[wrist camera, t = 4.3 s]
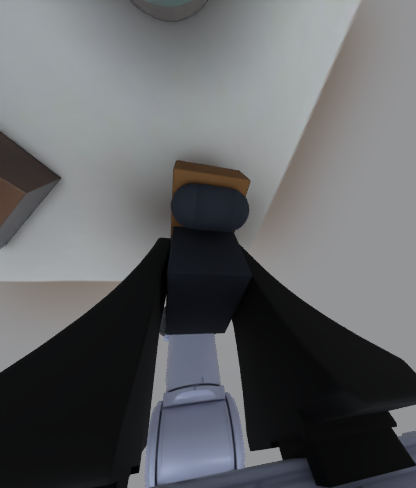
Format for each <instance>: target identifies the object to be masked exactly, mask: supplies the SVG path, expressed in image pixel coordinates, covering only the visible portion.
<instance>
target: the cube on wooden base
mask: <svg viewBox="0 0 416 488" xmlns="http://www.w3.org/2000/svg"><path fill="white" fill-rule="evenodd" d="M249 184H250V180H249V179H248V178H247V177H246V176H245V175H244V174H242V173H241V172H240V171H239V170H233V169H227V168H221V167H215V166H209V165H203V164H197V163H191V162H185V161H179V160H177V161H176V162H175V166H174V169H173V191H172V201H171V210H172V217H171V247H170V255H169V262H168V270H167V296H166V332H165V334H166V335H185V334H214V333H225V331H226V329H227V327H228V325H229V323H230V321H231V319H232V317H233V315H234V313H235V311H236V309H237V307H238V304H239V302H240V300H241V298H242V296H243V294H244V292H245V290H246V288H247V286H248V284H249V282H250V280H251V278H252V273H251V271H250V269H249V266H248V264H247V262H246V260H245V257H244V255H243V253H242V250H241V248H240V246H239V243H238V241H237V239H236V237H235V234H234V232H235V230H237V229H239V228H240V227H241V226H242V225H243V224H244V223H245V222H246V220H247V218H248V215H249V204H248V202H247V199H246V198H245V197H246V194H247V191H248V187H249Z"/></svg>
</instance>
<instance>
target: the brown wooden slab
mask: <svg viewBox="0 0 416 488" xmlns="http://www.w3.org/2000/svg"><path fill="white" fill-rule="evenodd" d="M59 180H60V177H58V176H57V175H56V174H55V173H53V172H52V171H51V170H49V169H48V168H47V167H45V166H44V165H43V164H41V163H40V162H39V161H37V160H36V159H35V158H33V157H32V156H31V155H30V154H28V153H27V152H26V151H24V150H23V149H22V148H20V147H19V146H18V145H16V144H15V143H14V142H12V141H11V140H10V139H9V138H7V137H6V136H5V135H3V134H2V133H1V132H0V249H1V248H3V247H4V246H5V245H6V243H7V242H8V241H9V240H10V239H11V237H12V236H13V235H14V234H15V233H16V231H17V230H18V229H19V228H20V227H21V225H22V224H23V223H24V222H25V221H26V219H27V218H28V217H29V216H30V215H31V213H32V212H33V211H34V210H35V209H36V207H37V206H38V205H39V204H40V203H41V201H42V200H43V199H44V198H45V197H46V195H47V194H48V193H49V192H50V191H51V189H52V188H53V187H54V186H55V185H56V183H57V182H58V181H59Z"/></svg>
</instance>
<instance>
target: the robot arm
mask: <svg viewBox="0 0 416 488" xmlns="http://www.w3.org/2000/svg"><path fill="white" fill-rule="evenodd" d="M239 246H240V248H241V250H242V253H243V255H244V257H245V260H246V262H247V264H248V266H249V269H250V271H251V273H252V278H251V280H250V282H249V284H248V286H247V288H246V290H245V292H244V294H243V296H242V298H241V300H240V302H239V304H238V307H237V309H236V311H235V313H234V315H233V317H232V322H233V326H234V332H235V338H236V344H237V351H238V358H239V365H240V373H241V381H242V390H243V399H244V409H245V419H246V431H247V437H248V443H249V448H250V451H255V450H263V449H269V448H276V447H279V448H280V452H281V455H282V459H283V460H282V461H277V462H272V463H267V464H262V465H257V466H252V467H247V468H245V465H244V461H245V459H244V458H245V456H244V442H243V435H242V428H241V423H240V418H239V413H238V410H237V406H236V403H235V401H234V399H233V398H232V397H231V395H230V394H229V393H228V392H226V393H225V391H224V386H221V382H220V375H219V367H218V359H217V352H216V344H215V336H214V334H185V335H166V334H165V336H164V341H169V345H168V357H167V370H166V385H167V388H166V393H164V396H163V401H159V402H158V403H157V405H156V407H155V408H154V410H153V412H152V416H151V420H150V426H149V419H150V409H151V400H152V390H153V382H154V373H155V364H156V355H157V346H158V338H159V330H160V324H161V318H162V313H163V309H164V304H165V299H166V294H167V270H168V262H169V255H170V247H171V238H159V239H158V240H157V242H156V243H155V245H154V246H153V248H152V249H151V250H150V252H149V253H148V254H147V255H146V256H145V258H144V259H143V260H142V261H141V263H140V264H139V265H138V266H137V267H136V268H135V269H134V270H133V271H132V272H131V273H130V274H129V275H128V276H127V277H126V278H125V279H124V280H123V281H122V282H121V283H120V284H119V285H118V286H117V287H116V288H115V289H114V290H113V291H112V292H111V293H109V295H107V296H106V297H105V298H104V299H102V300H101V301H100V302H99V303H98V304H96V305H95V306H94V307H93V308H91V309H90V310H89V311H88V312H87V313H85V314H84V315H83V316H81V317H80V318H79V319H77V320H76V321H74V322H73V323H72V324H70V325H69V326H68V327H66V328H65V329H64V330H62V331H61V332H60V333H58V334H57V335H55V336H54V337H52V338H51V339H50V340H48V341H47V342H46V343H44V344H43V345H41V346H40V347H38V348H37V349H35V350H34V351H32V352H31V353H29V354H28V355H26V356H25V357H23V358H22V359H20V360H19V361H17V362H16V363H14V364H13V365H11V366H10V367H8V368H7V369H5V370H4V371H2V372H1V373H0V488H127V485H128V479H129V476H130V474H135V473H139V469H140V462H141V454H142V451H143V450H144V448H145V447H146V445H147V448H146V459H145V488H416V431H412V432H407V433H403V434H402V436H399V437H397V435H396V434H395V432H394V431H393V429H392V428H391V427H397V424H396V422H395V421H394V419H393V417H392V416H391V414H390V413H389V412H388V411H390V410H394V409H399V408H402V407H407V406H411V405H415V404H416V373H415V372H414V371H413V370H412V369H411V368H410V366H408V364H407V363H405V362H404V361H403V360H402V359H401V358H399V357H397V356H395V355H393V354H391V353H389V352H388V351H386V350H384V349H382V348H380V347H378V346H376V345H375V344H373V343H371V342H369V341H367V340H365V339H363V338H361V337H360V336H358V335H356V334H355V333H353V332H351V331H350V330H348V329H346V328H345V327H342V326H341V325H339V324H338V323H336V322H334V321H333V320H331V319H330V318H328V317H327V316H325V315H323V314H322V313H320V312H319V311H318V310H316V309H314V308H313V307H312V306H310V305H309V304H307V303H306V302H304V301H303V300H302V299H300V298H299V297H297V296H296V295H295V294H294V293H292V292H291V291H290V290H288V289H287V288H286V287H285V286H283V285H282V284H281V283H279V281H277V280H276V279H275V278H274V277H273V276H272V275H270V274H269V273H268V272H267V271H266V270H265V269H264V268H263V267H262V266H261V265H260V264H259V263H258V262H257V261H256V260H254V258H253V257H252V256H251V255H250V254H248V252H247V251H246V250H245V249H244V248H243V247H242V246H241V245H239ZM148 428H149V432H148ZM147 438H148V439H147Z"/></svg>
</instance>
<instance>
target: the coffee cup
mask: <svg viewBox="0 0 416 488" xmlns="http://www.w3.org/2000/svg"><path fill="white" fill-rule="evenodd" d="M130 1H131V2H132V3H133V4H134V5H136V6H137V7H138V8H139V9H141V10H142V11H143V12H145V13H146V14H148V15H150V16H152V17H154V18H157V19H160V20H165V21H178V20H182V19H185V18H187V17H190V16H191V15H193V14H194V13H196V12H197V11H198V10H199V9H200V8H201V7H202V6H203V5H204V4H205V3H206V2H207V1H208V0H130Z"/></svg>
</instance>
